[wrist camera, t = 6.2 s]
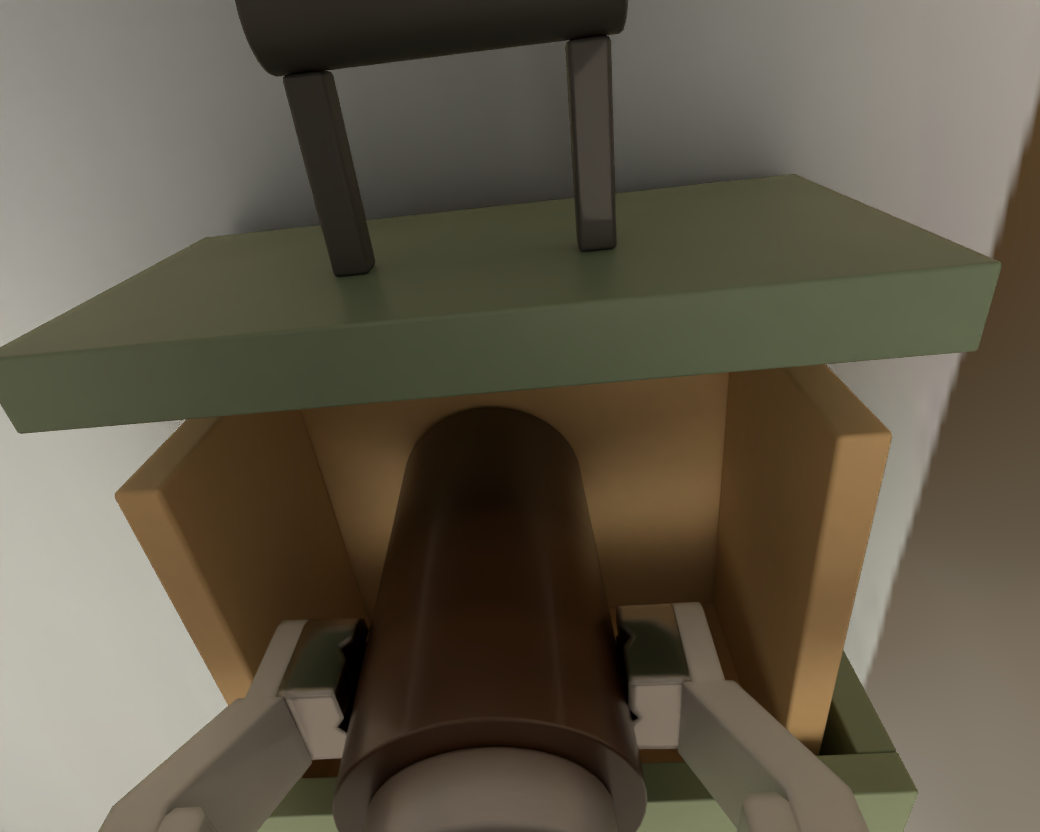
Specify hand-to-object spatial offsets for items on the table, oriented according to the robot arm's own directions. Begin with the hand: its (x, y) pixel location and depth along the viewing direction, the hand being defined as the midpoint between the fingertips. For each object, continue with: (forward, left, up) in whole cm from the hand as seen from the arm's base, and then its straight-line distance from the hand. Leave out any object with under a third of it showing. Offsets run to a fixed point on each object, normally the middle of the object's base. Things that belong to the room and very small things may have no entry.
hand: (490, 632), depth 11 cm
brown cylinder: (0, 0, -5) cm, 5 cm away
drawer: (-2, +1, -6) cm, 7 cm away
